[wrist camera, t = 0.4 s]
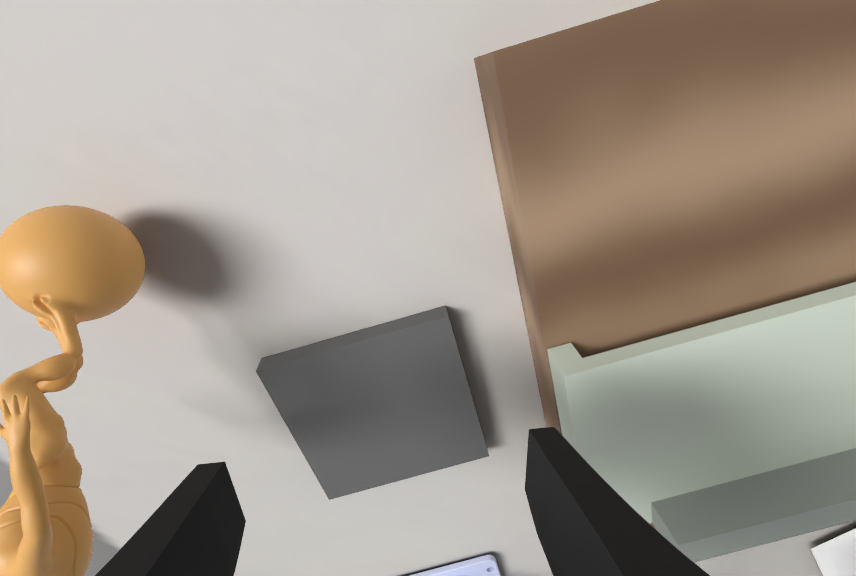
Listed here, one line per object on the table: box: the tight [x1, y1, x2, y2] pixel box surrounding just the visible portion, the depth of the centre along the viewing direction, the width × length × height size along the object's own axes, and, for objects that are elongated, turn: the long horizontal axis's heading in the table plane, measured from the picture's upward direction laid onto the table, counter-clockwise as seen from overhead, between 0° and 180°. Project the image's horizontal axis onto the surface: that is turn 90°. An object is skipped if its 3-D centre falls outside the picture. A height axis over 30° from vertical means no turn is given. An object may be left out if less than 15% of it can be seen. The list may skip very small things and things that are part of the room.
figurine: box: [0, 205, 145, 576], centre depth 13 cm, size 8×6×12 cm
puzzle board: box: [474, 0, 856, 529], centre depth 20 cm, size 28×16×3 cm, turn 15°
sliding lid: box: [547, 282, 856, 562], centre depth 17 cm, size 10×16×4 cm, turn 105°
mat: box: [256, 306, 489, 500], centre depth 21 cm, size 9×9×1 cm
